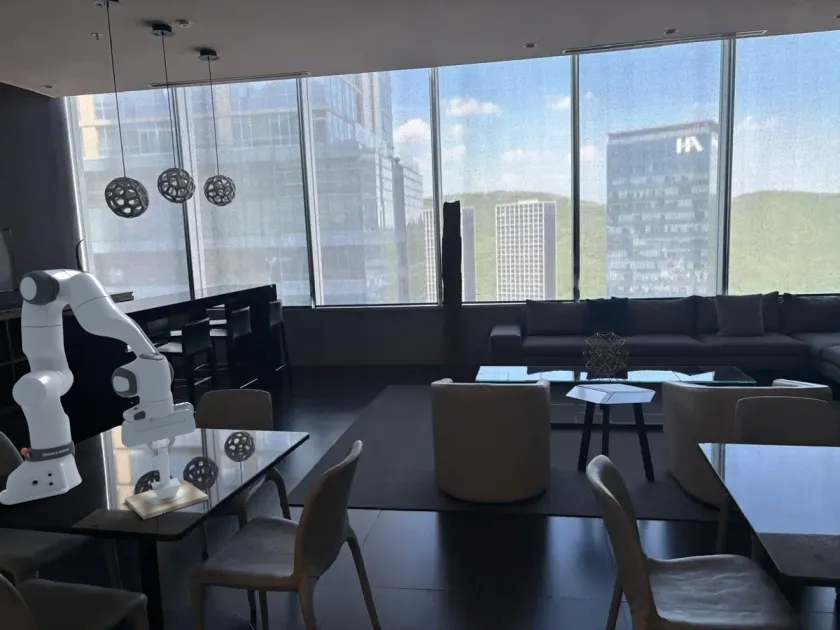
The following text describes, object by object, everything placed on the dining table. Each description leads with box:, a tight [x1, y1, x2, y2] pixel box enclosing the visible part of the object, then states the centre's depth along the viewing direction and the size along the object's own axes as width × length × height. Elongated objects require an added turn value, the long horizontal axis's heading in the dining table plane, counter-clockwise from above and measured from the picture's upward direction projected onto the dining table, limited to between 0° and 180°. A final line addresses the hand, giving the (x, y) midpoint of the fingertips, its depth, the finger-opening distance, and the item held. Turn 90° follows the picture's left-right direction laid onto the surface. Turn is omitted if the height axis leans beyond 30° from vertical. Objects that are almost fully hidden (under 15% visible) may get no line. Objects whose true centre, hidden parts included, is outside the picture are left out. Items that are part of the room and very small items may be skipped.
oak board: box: [124, 480, 209, 520], centre depth 176 cm, size 18×18×1 cm
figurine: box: [150, 445, 180, 500], centre depth 175 cm, size 7×9×15 cm
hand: (161, 453), depth 175 cm, fingers closed on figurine, 3 cm apart
